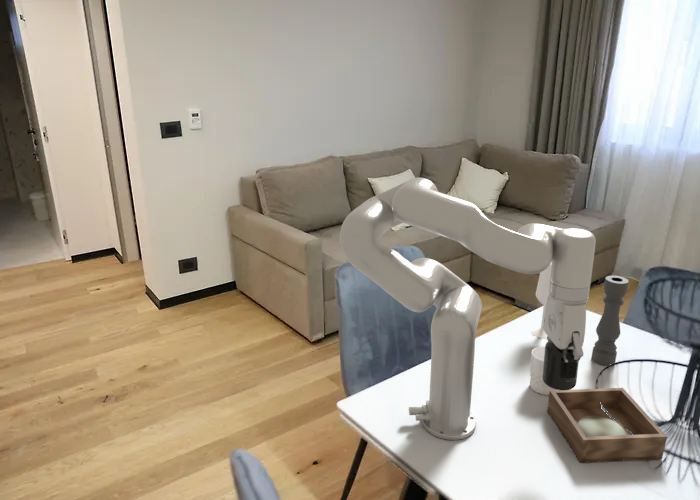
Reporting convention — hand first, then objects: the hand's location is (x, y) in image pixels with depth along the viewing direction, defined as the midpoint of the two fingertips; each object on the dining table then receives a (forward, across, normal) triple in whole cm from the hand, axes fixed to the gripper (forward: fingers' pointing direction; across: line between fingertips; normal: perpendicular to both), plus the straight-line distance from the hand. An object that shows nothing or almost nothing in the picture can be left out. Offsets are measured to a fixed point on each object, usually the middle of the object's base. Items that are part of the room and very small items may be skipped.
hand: (560, 367), depth 116 cm
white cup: (+20, -22, +6) cm, 30 cm away
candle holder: (+20, -34, +28) cm, 49 cm away
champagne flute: (+20, -51, +17) cm, 58 cm away
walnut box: (+20, -3, +13) cm, 24 cm away
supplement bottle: (+4, 0, 0) cm, 4 cm away
